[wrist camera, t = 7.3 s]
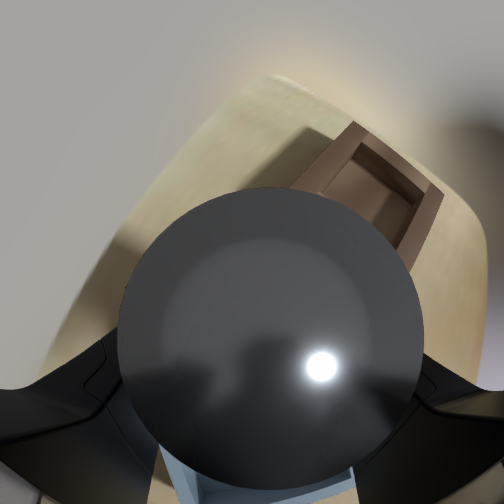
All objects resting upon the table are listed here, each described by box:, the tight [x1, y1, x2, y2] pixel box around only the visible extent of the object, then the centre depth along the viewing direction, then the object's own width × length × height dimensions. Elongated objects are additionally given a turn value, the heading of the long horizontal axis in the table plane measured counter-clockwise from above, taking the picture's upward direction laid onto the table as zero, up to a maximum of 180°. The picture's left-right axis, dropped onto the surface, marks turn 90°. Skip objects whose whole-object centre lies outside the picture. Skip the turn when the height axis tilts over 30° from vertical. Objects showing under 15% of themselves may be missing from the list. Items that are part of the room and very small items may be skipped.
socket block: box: [289, 121, 444, 272], centre depth 19 cm, size 9×9×3 cm
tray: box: [125, 287, 356, 504], centre depth 14 cm, size 14×10×4 cm
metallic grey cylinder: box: [117, 188, 424, 490], centre depth 9 cm, size 4×4×11 cm
